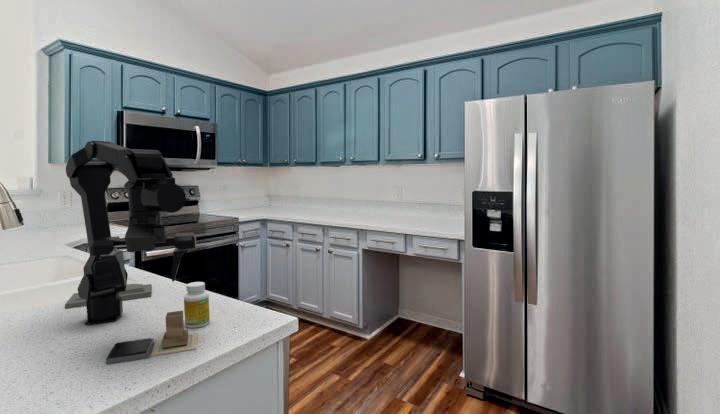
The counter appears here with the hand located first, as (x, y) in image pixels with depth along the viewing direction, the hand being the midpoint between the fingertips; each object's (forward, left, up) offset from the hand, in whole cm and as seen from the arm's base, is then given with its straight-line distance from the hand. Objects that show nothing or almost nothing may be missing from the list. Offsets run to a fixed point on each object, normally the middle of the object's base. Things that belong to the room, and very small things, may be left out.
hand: (149, 283), depth 80 cm
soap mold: (-15, +36, -13) cm, 41 cm away
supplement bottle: (+9, +6, -13) cm, 17 cm away
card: (+5, -4, -12) cm, 14 cm away
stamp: (+5, -4, -12) cm, 14 cm away
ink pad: (-3, -5, -12) cm, 14 cm away
